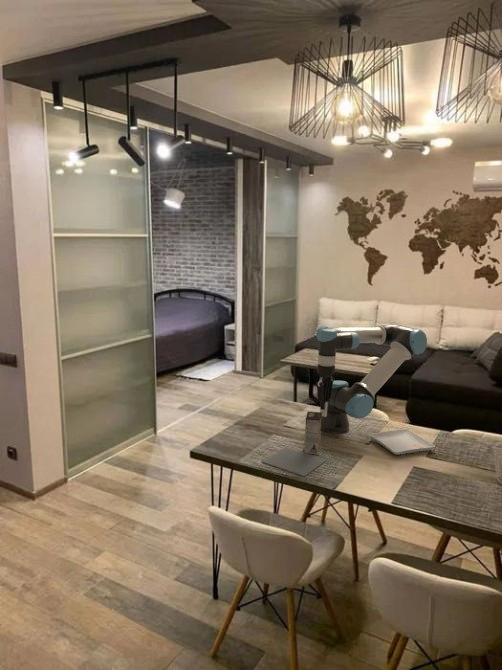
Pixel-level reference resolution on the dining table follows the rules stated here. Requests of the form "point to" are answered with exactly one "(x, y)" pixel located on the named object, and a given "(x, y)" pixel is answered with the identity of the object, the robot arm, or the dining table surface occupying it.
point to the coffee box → (313, 432)
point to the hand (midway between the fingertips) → (323, 415)
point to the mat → (294, 461)
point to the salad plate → (401, 441)
